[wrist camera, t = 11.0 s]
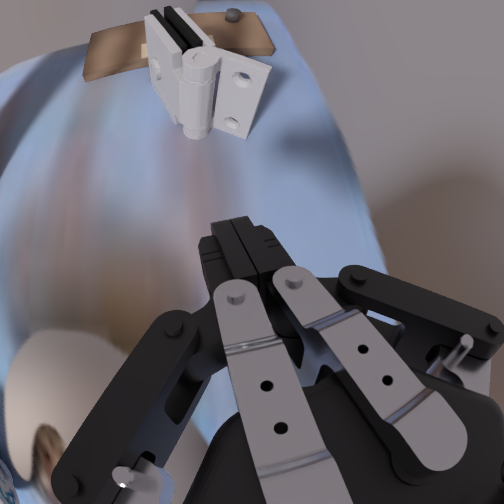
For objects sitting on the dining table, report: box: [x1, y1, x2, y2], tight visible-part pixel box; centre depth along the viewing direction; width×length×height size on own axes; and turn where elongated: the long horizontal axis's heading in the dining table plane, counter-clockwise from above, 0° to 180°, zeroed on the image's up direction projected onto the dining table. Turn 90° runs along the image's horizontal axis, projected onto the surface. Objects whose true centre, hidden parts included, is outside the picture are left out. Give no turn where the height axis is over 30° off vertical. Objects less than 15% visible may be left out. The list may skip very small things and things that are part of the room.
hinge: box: [144, 6, 272, 140], centre depth 21 cm, size 14×5×10 cm, turn 43°
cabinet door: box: [83, 8, 274, 82], centre depth 26 cm, size 24×10×3 cm, turn 104°
